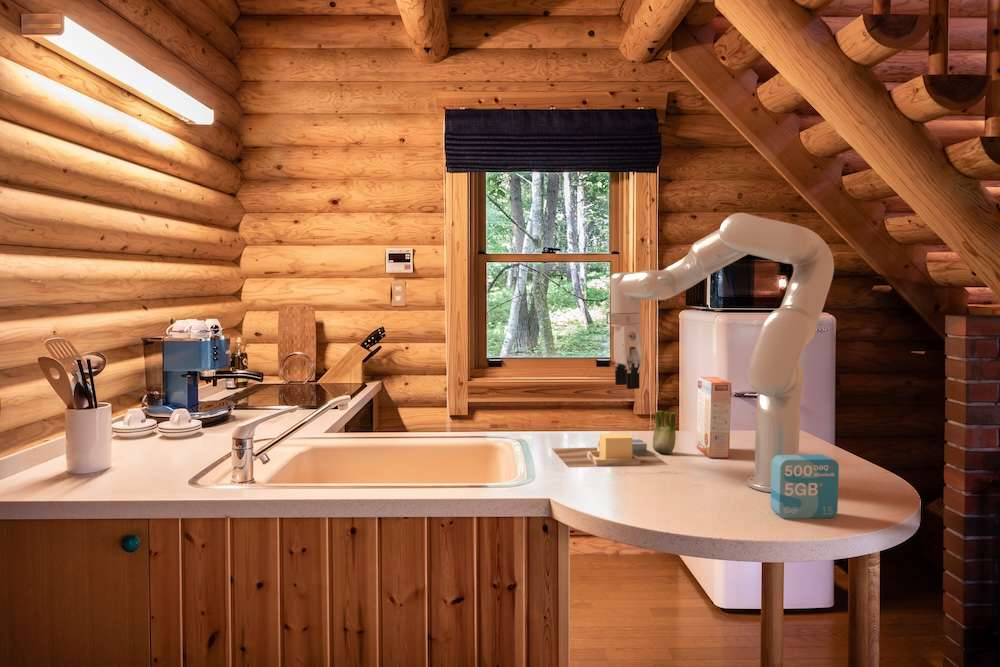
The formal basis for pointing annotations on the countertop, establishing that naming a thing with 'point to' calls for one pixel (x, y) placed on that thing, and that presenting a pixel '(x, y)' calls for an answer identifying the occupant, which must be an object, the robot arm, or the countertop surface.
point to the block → (615, 446)
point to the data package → (804, 486)
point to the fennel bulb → (664, 433)
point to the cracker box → (714, 417)
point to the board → (591, 459)
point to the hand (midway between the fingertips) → (627, 386)
